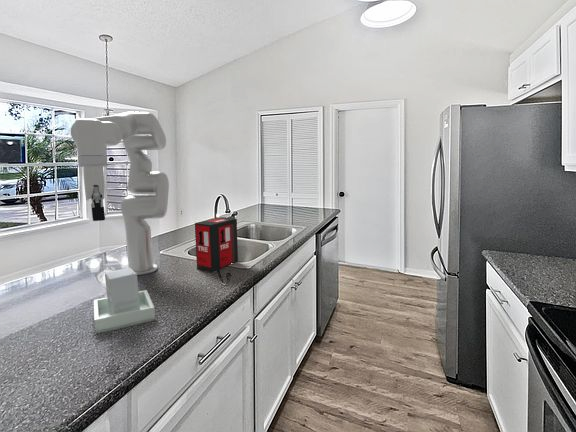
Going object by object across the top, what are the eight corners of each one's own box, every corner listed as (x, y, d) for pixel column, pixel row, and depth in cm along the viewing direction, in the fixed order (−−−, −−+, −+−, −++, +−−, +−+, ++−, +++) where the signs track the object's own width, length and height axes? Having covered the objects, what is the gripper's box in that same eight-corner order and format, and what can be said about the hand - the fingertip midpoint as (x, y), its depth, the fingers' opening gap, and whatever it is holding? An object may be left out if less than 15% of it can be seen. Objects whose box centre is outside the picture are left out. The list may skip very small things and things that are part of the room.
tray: (95, 312, 102) (93, 299, 101) (147, 301, 110) (146, 290, 109) (95, 333, 89) (94, 320, 89) (155, 320, 97) (154, 307, 96)
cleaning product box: (212, 272, 137) (210, 225, 134) (197, 269, 142) (194, 223, 138) (237, 262, 152) (236, 218, 148) (222, 259, 156) (221, 217, 153)
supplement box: (134, 305, 105) (131, 266, 103) (140, 314, 99) (137, 273, 97) (108, 312, 100) (104, 271, 98) (113, 321, 95) (109, 278, 92)
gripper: (79, 161, 105) (84, 215, 108) (77, 162, 91) (84, 223, 94) (105, 161, 109) (110, 213, 112) (108, 162, 94) (114, 221, 97)
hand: (98, 218), depth 103 cm, fingers open, 9 cm apart
